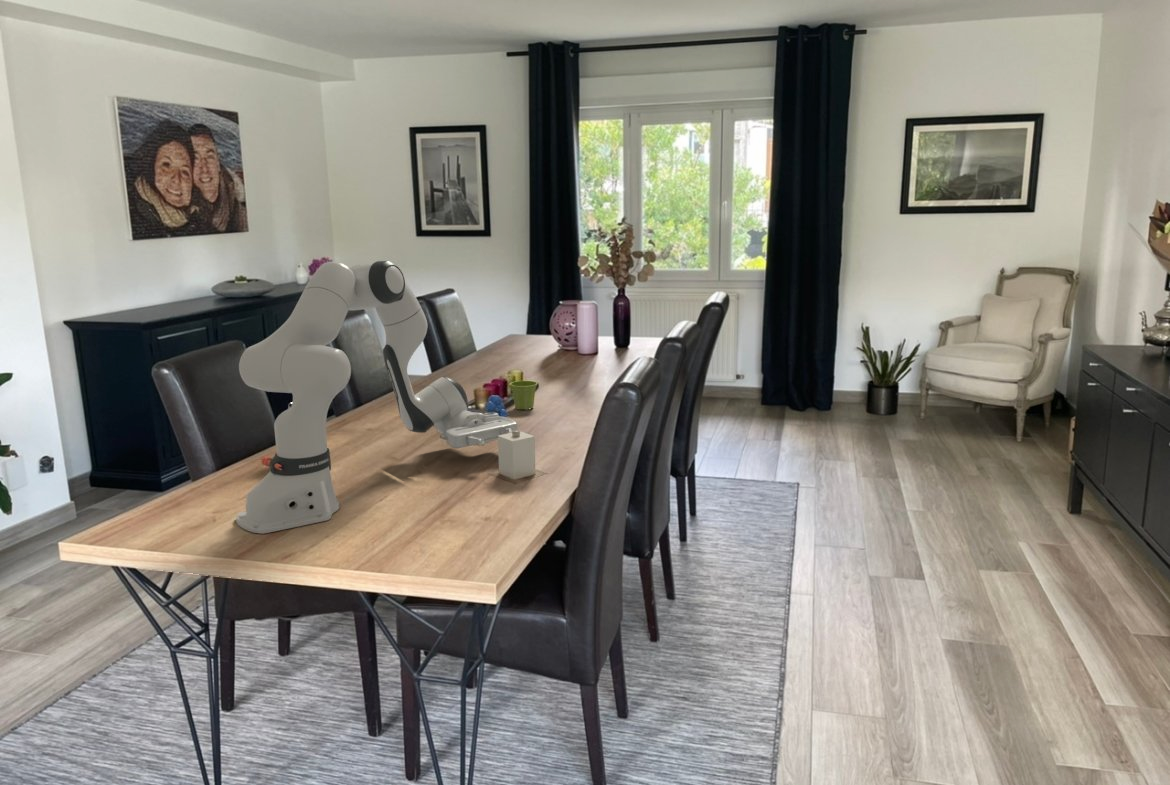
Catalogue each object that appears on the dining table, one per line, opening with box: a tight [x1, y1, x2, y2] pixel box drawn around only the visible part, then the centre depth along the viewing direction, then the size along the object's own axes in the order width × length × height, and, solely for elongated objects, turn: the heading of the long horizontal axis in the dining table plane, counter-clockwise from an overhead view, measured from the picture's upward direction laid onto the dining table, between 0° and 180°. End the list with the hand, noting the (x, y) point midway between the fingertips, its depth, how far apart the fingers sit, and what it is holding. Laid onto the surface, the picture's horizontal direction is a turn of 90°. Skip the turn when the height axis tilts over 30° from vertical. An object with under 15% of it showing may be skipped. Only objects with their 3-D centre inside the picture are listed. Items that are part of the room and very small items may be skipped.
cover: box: [497, 429, 536, 479], centre depth 219 cm, size 7×7×11 cm
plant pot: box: [509, 380, 538, 410], centre depth 290 cm, size 9×9×9 cm
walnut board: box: [487, 468, 549, 484], centre depth 220 cm, size 11×11×1 cm
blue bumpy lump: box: [484, 394, 509, 418], centre depth 260 cm, size 12×7×12 cm, turn 164°
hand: (497, 439), depth 225 cm, fingers open, 8 cm apart
